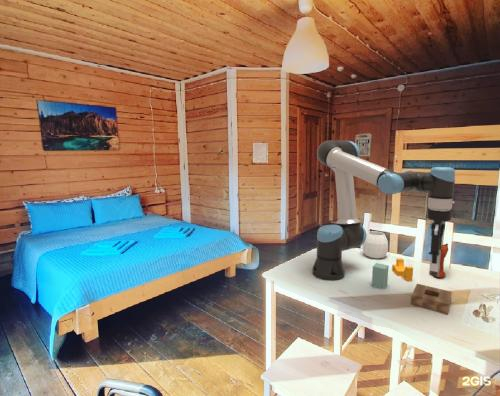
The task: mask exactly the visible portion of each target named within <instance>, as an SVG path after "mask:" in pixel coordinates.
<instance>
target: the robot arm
mask: <svg viewBox="0 0 500 396" xmlns="http://www.w3.org/2000/svg"><path fill="white" fill-rule="evenodd" d="M360 152H361V151H360V148H359V147H358V144H356V143H355V142H354V141H350V140H346V139H345V140H341V139H339V140H332V139H331V140H325V141H323V142H322V143H320V144H319V145H318V147H317V150H316V158H317V160H318V161H319V162H320V163H321V164H323V165H325V166H326V167H328V168H331V170H332V172H334V177H335V178H334V179H335V189H336V191H335V192H336V202H337V213H338V215H337V216H338V219H337V221H336V222H335V224H326V225H322V226H320V227H318V229H317V232H316V233H317V235H316V259H315V260H314V264H313V266H312V274H313V275H314V277H316V278H318V279H321V280H325V281H339V280H342V279H344V278H345V277H346V270H345V267H344V263H343V260H342V258H343V251H347V250H351V249H356V248H358V247H361V246H363V243H364V242H365V240H366V234H367V231H366V229H365V228H364V226H363V224H361V220H359V219H358V217H357V203H356V193H355V192H356V191H355V183H354V177H356V178H359V179H360V180H362V181H365V182H367V183H370V184H371V185H374V186H375V187H378V189H379V190H380V191H381V192H382V193H383V194H386V195H396V194H400V193H401V194H402V193H408V192H425V193H428V200H427V207H428V209H427V214H426V218H427V220H430V221H433V222H432V223H431V227H430V229H431V231H430V232H431V234H430V236H431V242H430V251H429V252H428V255H430V256H431V257H430V259H429V270H430V271H435V272H438V266H439V249H440V250H441V252H443V250H442V249H441V248H442V247H441V245H443V244H442V243H443V235H444V231H445V226H446V224H444V222H450V221H451V220H452V213H453V212H452V209H453V205H454V204H455V203H456V202H455V200H453V199H454V191H455V189H454V188H455V183H456V170H455V168H453V167H448V166H447V167H446V166H444V167H441V166H440V167H439V166H438V167H437V166H435V167H432V168H430V171H427V172H425V171H414V170H413V171H412V170H404V171H400V172H396V171H393V170H391V169H389V168H386V167H383V166H381V165H378V164H376V163H373V162H370V161H368V160H366V159H363V158H360V154H361V153H360Z"/></svg>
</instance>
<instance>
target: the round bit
mask: <svg viewBox="0 0 500 396" xmlns="http://www.w3.org/2000/svg"><path fill="white" fill-rule="evenodd" d="M430 257H431V255H430ZM440 257H441V250H440V249H439V266H438V272H435V271H430V270H429V272H428V275H429V276H432V277H437V276H439V269H440ZM437 278H438V277H437Z"/></svg>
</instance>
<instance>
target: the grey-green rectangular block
mask: <svg viewBox="0 0 500 396" xmlns="http://www.w3.org/2000/svg"><path fill="white" fill-rule="evenodd" d="M371 272H372V276H371V287H376V288H379V289H383V290H385V289H386V287H387V286H388V279H389V265H388V264H383V263H378V262H375V264H374V265H372V271H371Z"/></svg>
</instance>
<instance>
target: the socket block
mask: <svg viewBox="0 0 500 396" xmlns="http://www.w3.org/2000/svg"><path fill="white" fill-rule="evenodd" d="M452 293H453V292H452V291H451V290H447V289H446V290H445V289H442V288H438V287H433V286H429V285H424V284H421V283H416V284H415V287H414V289H413V291H412V293H411V297H410V305H411V306H415V307H419V308H423V309H426V310H430V311H433V312H436V313H437V312H438V313H440V314H443V315H444V314H445V315H449V311H450V307H451V303H452Z"/></svg>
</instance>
